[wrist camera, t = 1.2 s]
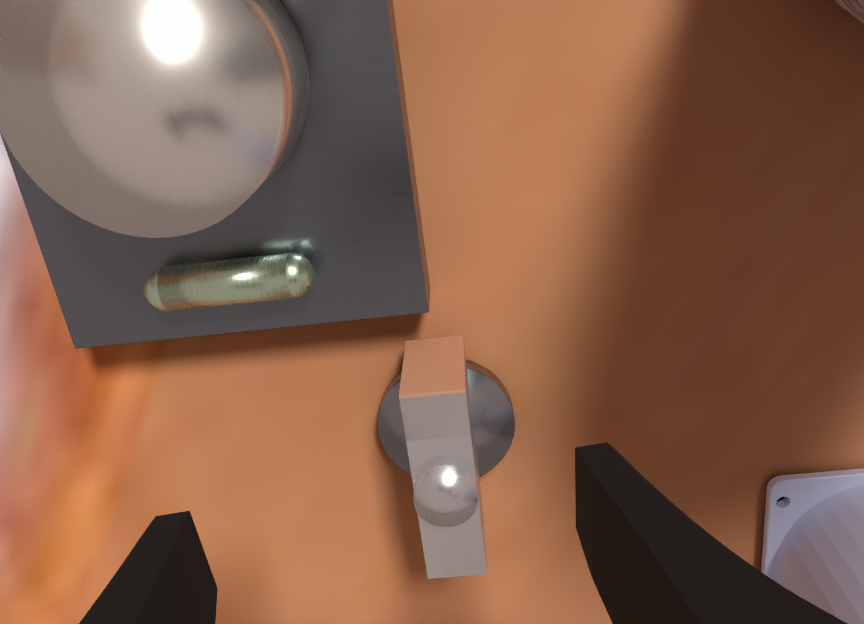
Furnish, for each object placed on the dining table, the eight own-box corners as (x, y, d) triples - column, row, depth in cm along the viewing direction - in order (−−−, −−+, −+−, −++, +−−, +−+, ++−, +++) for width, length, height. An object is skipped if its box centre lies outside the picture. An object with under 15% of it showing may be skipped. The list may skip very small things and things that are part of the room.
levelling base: (430, 290, 26) (425, 369, 20) (101, 324, 26) (8, 409, 21) (368, -179, 20) (338, -248, 15) (-43, -118, 21) (-220, -161, 15)
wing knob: (519, 487, 28) (533, 581, 24) (393, 498, 29) (382, 593, 24) (505, 322, 26) (517, 392, 21) (365, 336, 26) (347, 408, 21)
